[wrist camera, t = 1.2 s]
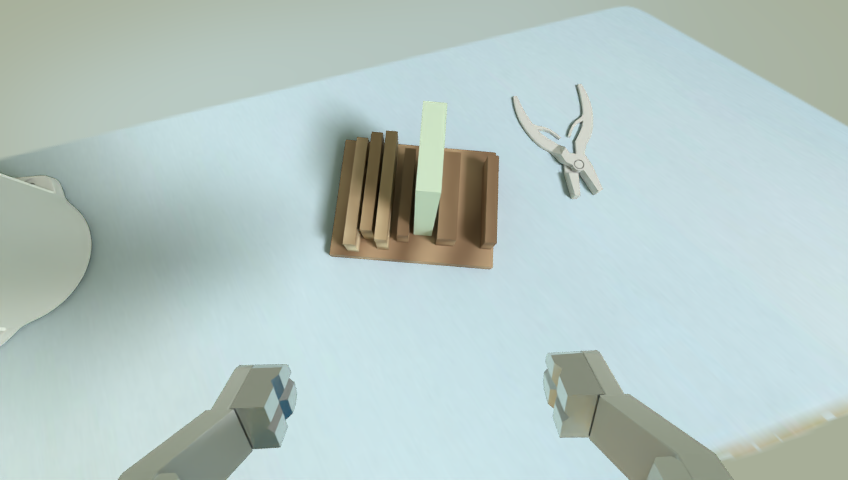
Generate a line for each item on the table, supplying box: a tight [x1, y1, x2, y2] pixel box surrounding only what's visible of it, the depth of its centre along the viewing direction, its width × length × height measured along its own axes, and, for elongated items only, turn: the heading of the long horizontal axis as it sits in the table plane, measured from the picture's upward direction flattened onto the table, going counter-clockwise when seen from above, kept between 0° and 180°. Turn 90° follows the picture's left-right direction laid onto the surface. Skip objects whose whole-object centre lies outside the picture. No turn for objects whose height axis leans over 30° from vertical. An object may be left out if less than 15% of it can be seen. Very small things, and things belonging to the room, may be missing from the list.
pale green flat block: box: [414, 101, 447, 236], centre depth 36 cm, size 2×8×13 cm, turn 176°
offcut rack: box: [330, 131, 499, 269], centre depth 40 cm, size 18×14×6 cm
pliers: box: [513, 84, 603, 199], centre depth 45 cm, size 10×2×15 cm
